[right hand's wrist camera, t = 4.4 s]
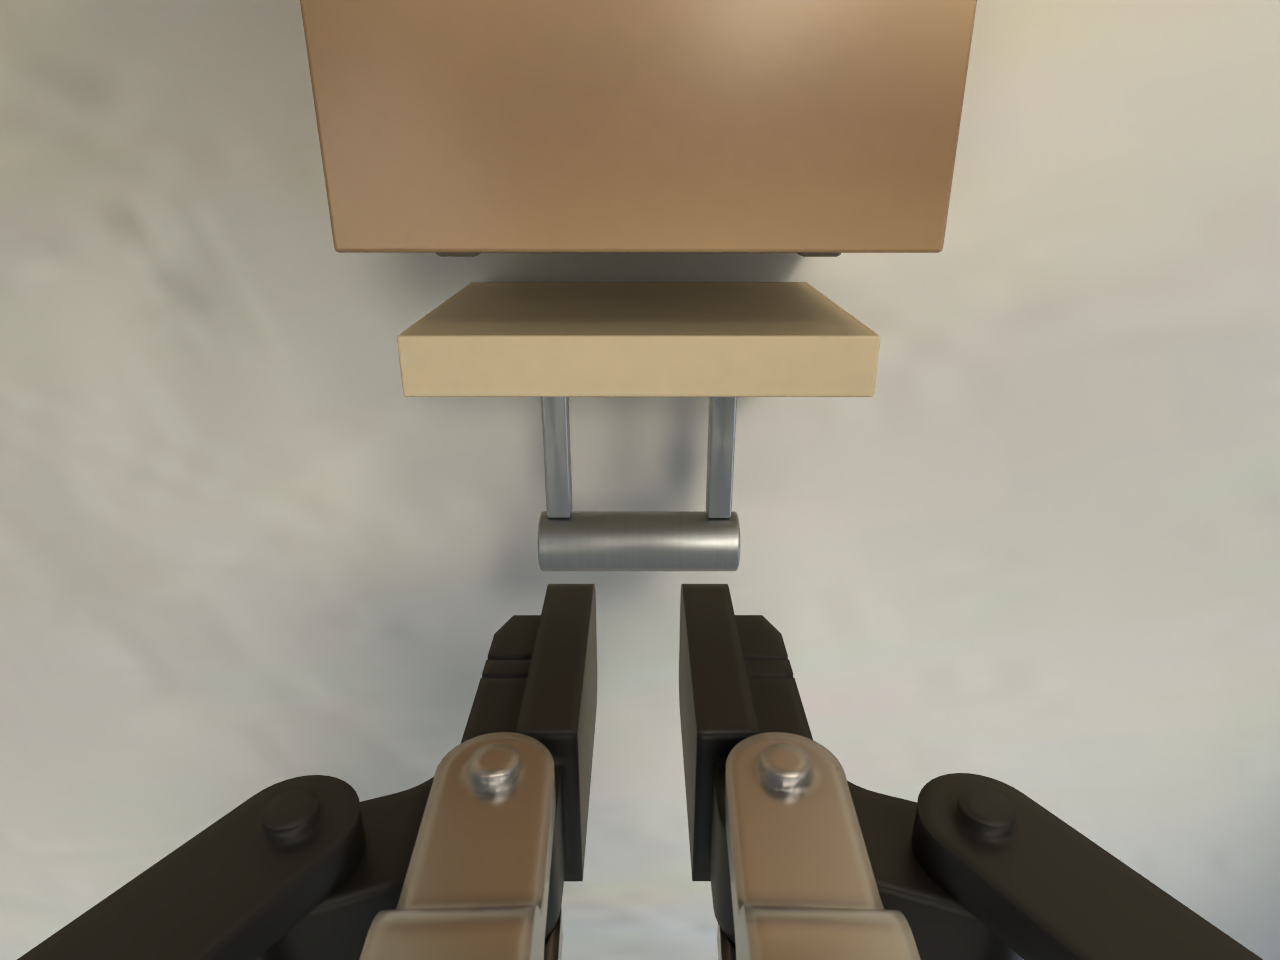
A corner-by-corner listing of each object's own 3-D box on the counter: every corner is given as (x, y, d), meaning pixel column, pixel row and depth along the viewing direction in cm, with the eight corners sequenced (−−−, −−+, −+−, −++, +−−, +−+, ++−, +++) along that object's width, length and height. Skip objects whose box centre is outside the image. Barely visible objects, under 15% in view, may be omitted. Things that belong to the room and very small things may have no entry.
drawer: (789, 510, 24) (846, 642, 17) (488, 510, 24) (431, 642, 17) (883, -693, 15) (1077, -1376, 8) (395, -692, 15) (198, -1377, 8)
